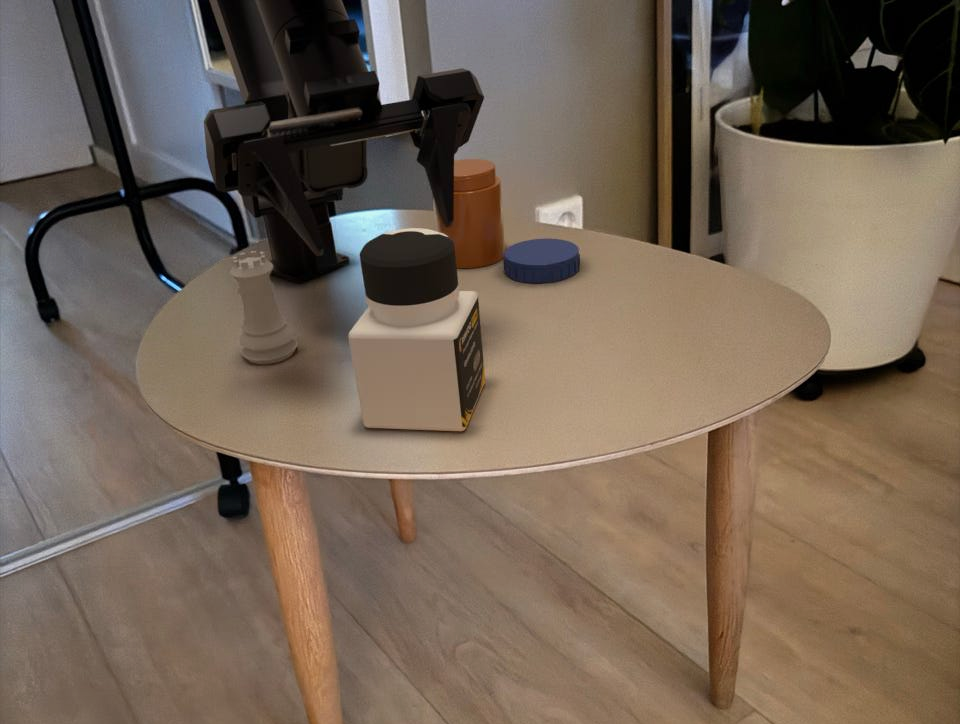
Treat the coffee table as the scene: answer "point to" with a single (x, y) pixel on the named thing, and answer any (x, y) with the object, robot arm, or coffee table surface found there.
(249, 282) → the rook chess piece
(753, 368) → the coffee table surface
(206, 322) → the coffee table surface
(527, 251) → the lid
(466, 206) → the jar
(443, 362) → the medicine bottle
